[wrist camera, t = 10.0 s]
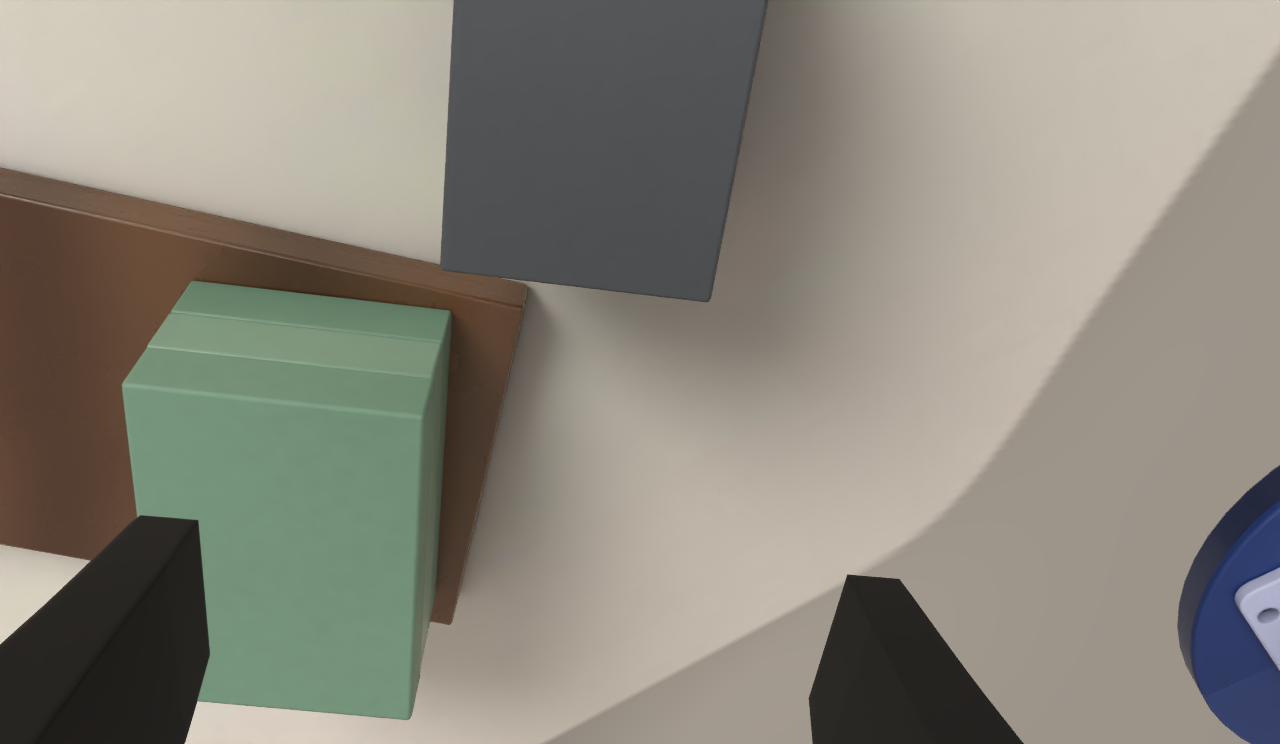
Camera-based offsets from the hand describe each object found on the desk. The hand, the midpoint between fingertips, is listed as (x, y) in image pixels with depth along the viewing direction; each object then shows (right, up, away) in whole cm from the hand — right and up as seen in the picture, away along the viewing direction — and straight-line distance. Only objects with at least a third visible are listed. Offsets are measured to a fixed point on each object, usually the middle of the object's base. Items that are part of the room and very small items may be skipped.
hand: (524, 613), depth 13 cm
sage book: (-5, 0, +8) cm, 10 cm away
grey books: (+1, +9, +7) cm, 11 cm away
